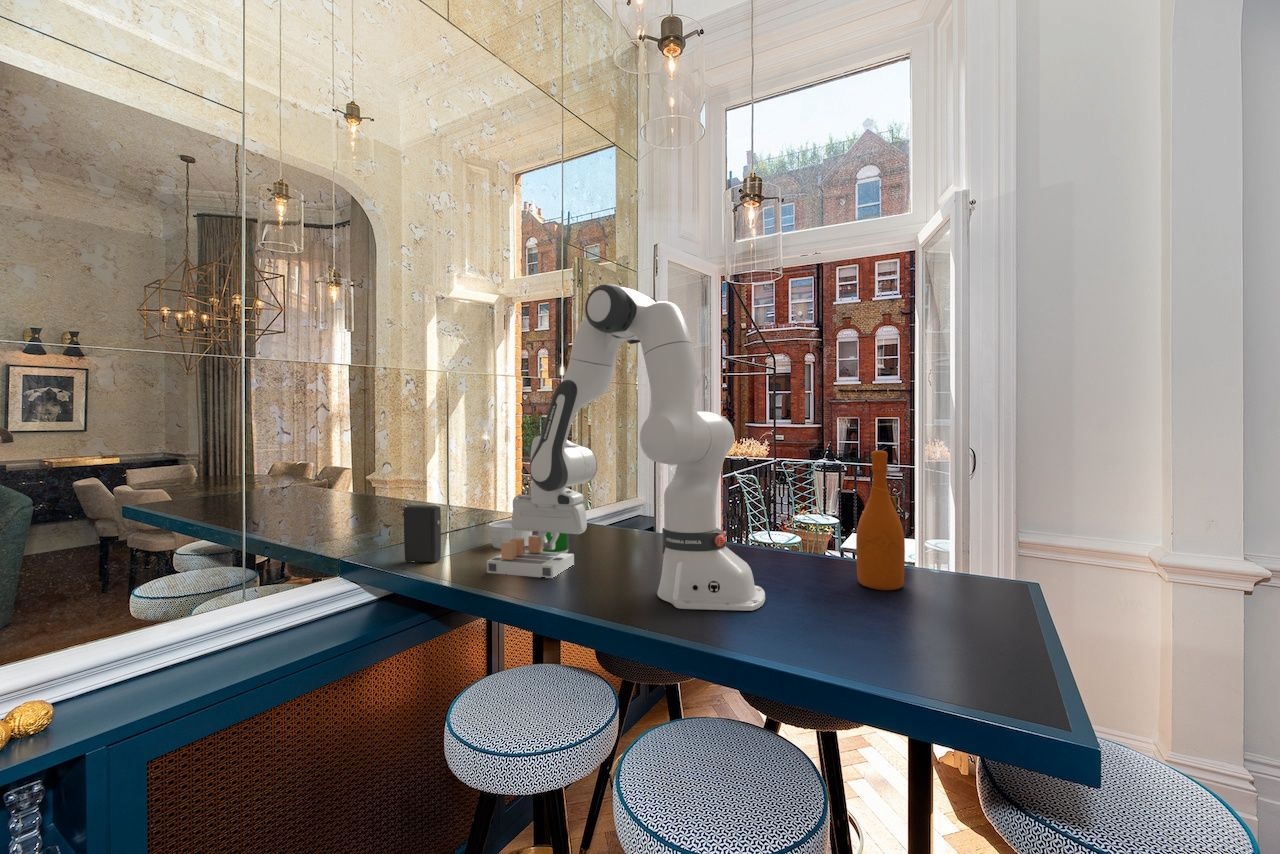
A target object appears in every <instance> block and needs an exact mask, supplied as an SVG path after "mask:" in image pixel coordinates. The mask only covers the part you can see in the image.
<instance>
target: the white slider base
mask: <svg viewBox="0 0 1280 854" xmlns="http://www.w3.org/2000/svg"><path fill="white" fill-rule="evenodd" d="M572 565H574V566H575V554H574V553H568V552H567V553H553V552H540V553H531V552H529V550H525V554H524V555H522V556H516V558H515V559H513V560H507V559H501V554H499V555H497V556H494V557H493V558H490V559H488V560H486V573H487V574H494V575H495V574H496V575H506V574H507V576H518V577H519V576H520V577H532V578H541V577H545V578H544V579H554V578H553V577H555V576H556V577H558V576H559V575H561V574H562V573H561V572H563V571H564V570H566V569H568V568H569V567H571V566H572ZM571 568H572V567H571ZM569 569H570V568H569ZM569 569H568V570H569ZM566 571H567V570H566ZM564 572H565V571H564ZM564 572H563V573H564ZM560 573H561V574H560ZM558 574H559V575H558ZM557 575H558V576H557ZM556 577H555V578H556Z"/></svg>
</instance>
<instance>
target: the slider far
mask: <svg viewBox="0 0 1280 854" xmlns="http://www.w3.org/2000/svg"><path fill="white" fill-rule="evenodd" d="M528 538H529V545H528V551H529V552H531V553H540V552H542V551H543V548H542V542H541V540H540V538H539V536H538V535H533V534H532V536H530V537H528Z"/></svg>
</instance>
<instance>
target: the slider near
mask: <svg viewBox="0 0 1280 854" xmlns="http://www.w3.org/2000/svg"><path fill="white" fill-rule="evenodd" d="M500 551H501V553H500V555H501V559H507V560H513V559H515V558H516V542H511V541H505V542H502V543H501V549H500Z"/></svg>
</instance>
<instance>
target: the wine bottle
mask: <svg viewBox="0 0 1280 854" xmlns="http://www.w3.org/2000/svg"><path fill="white" fill-rule="evenodd" d="M870 455H871V456H870V457H871V463H872V464H871V471H872V472H873V473H872V486H871V488H870V489H871V490H870V492H869V497H868V500H867V502H866V504H865V507H864V509H863V510H862V512H861V515H860V518H859V520H858V525H857V530H856V535H855V536H856V541H855V542H856V544H855V547H856V549H855V552H856V553H855V554H856V575H857V576H856V577H857V581H858V582H859V584H861V586H864V587H867V588H869V589H872V590H878V591H894V590H895V591H896V590H899V589H901V588H903V586H904V584H905V563H906V562H905V561H906V555H905V553H906V550H905V549H906V547H905V546H906V545H905V532H904V529H903V525H902V522H901V519H900V516H899V514H898V512H897V510H896V509H898V506H897V503H896V499H895V496H893V495H890V490H889V488H888V483H887V475H886V474H887V472H888V469H889V467H888V456H889V455H888V452H887V451H885V450H882V449H879V450H878V449H877V450H873V451H872V452H871V454H870Z"/></svg>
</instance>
